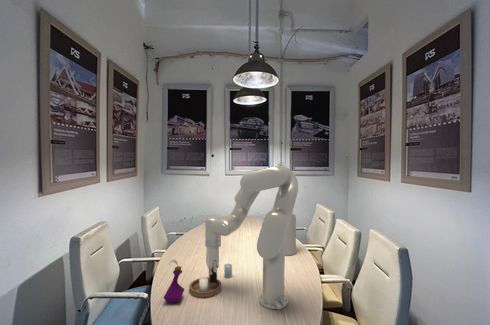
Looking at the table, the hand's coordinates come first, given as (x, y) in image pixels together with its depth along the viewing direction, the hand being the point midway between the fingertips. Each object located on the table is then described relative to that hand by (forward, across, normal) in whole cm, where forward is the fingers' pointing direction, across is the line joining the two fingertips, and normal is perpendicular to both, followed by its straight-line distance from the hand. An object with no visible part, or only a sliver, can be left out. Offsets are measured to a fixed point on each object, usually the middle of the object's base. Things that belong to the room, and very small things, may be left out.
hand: (212, 279), depth 124 cm
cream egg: (+4, +4, -5) cm, 7 cm away
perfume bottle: (+5, +6, -18) cm, 19 cm away
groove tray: (+4, 0, -4) cm, 6 cm away
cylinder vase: (+4, -33, +55) cm, 64 cm away
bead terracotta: (+1, 0, 0) cm, 1 cm away
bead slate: (+4, -10, +10) cm, 15 cm away
